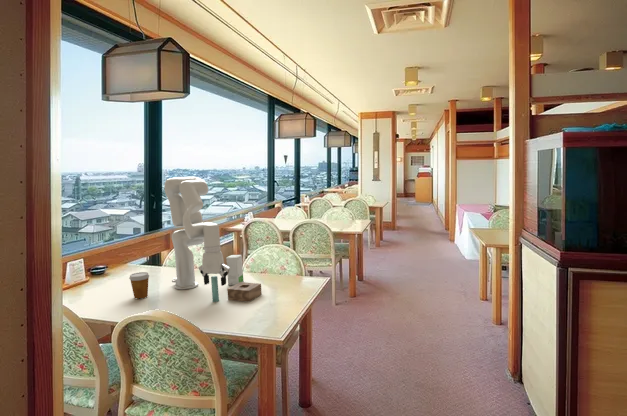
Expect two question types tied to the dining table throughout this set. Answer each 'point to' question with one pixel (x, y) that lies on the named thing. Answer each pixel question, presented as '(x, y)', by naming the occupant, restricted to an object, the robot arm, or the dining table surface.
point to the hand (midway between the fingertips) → (215, 284)
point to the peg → (215, 288)
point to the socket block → (244, 291)
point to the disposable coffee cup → (139, 284)
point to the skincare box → (235, 269)
